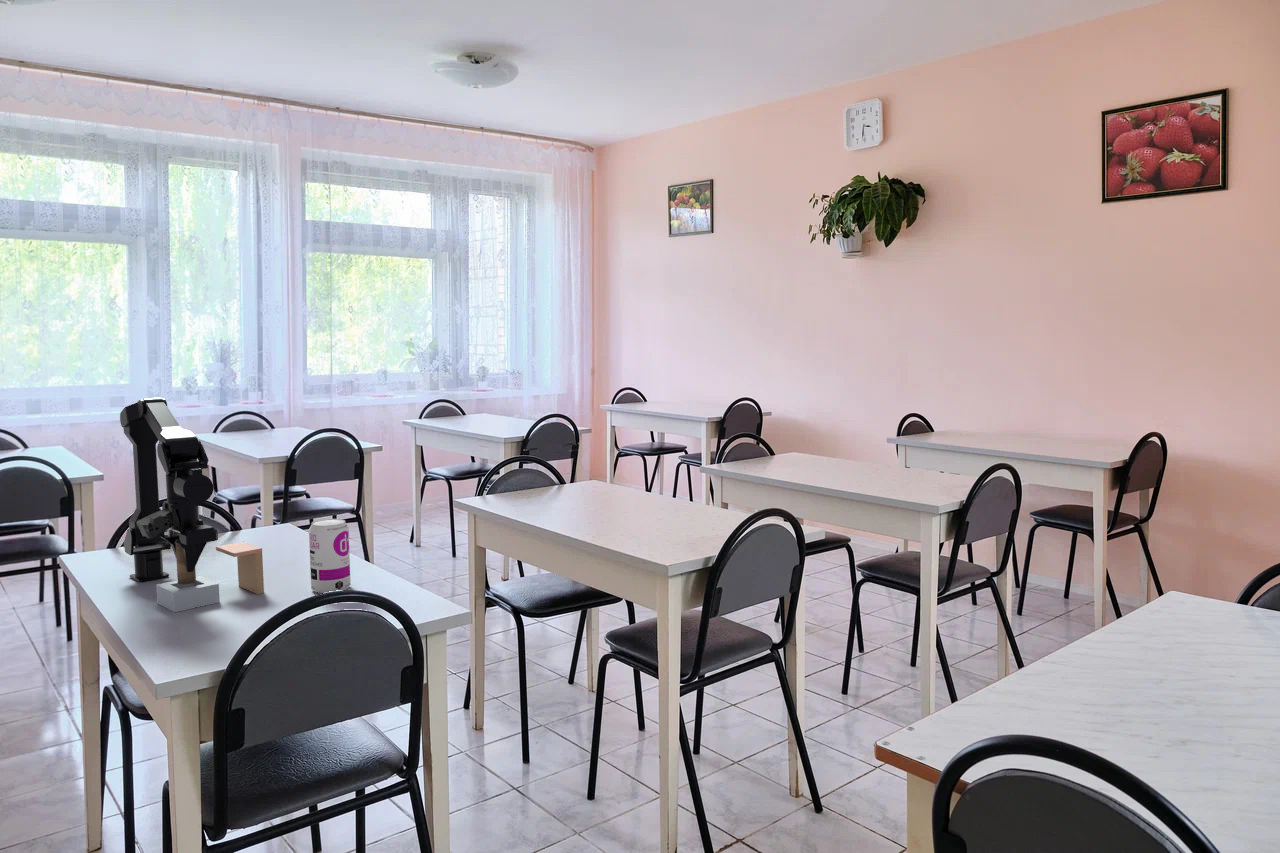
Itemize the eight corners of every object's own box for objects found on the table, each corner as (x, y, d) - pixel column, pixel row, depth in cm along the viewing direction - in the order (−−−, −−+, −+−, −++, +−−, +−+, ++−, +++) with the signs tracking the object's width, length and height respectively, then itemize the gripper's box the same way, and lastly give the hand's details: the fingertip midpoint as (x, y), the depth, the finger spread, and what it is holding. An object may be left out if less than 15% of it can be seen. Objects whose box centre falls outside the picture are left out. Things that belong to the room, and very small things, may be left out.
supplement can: (358, 586, 202) (356, 519, 200) (334, 596, 194) (331, 527, 192) (327, 582, 204) (325, 517, 203) (303, 592, 196) (300, 524, 195)
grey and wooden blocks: (157, 603, 189) (154, 557, 188) (245, 584, 202) (243, 541, 201) (174, 612, 183) (171, 564, 182) (264, 592, 196) (262, 548, 195)
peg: (191, 578, 191) (189, 536, 190) (198, 581, 189) (196, 539, 188) (175, 582, 189) (172, 539, 188) (181, 585, 186) (179, 542, 185)
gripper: (123, 496, 187) (128, 569, 189) (158, 508, 175) (163, 587, 176) (179, 488, 195) (183, 559, 197) (217, 500, 183) (221, 575, 185)
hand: (186, 570), depth 188 cm, fingers closed on peg, 3 cm apart
